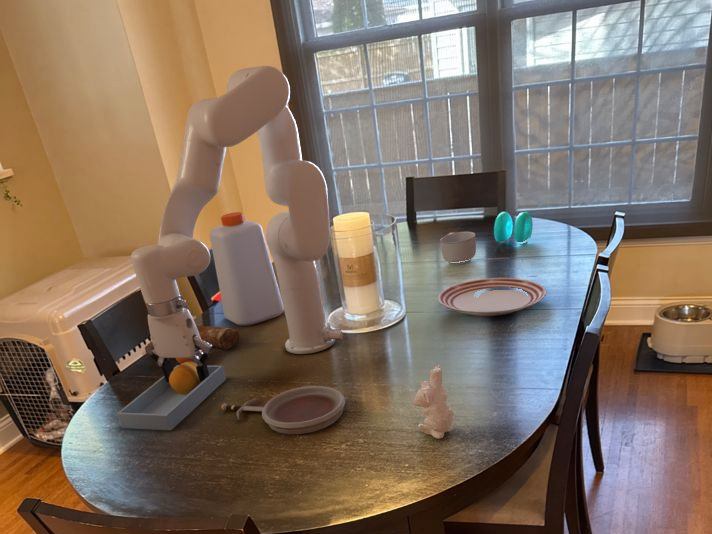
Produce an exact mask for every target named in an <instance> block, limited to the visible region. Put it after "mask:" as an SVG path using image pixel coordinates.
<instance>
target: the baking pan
mask: <svg viewBox="0 0 712 534" xmlns="http://www.w3.org/2000/svg"><path fill="white" fill-rule="evenodd" d="M179 365H180V364H177V365H175V366H173V369H175V368H177V367H178V366H179ZM207 368H208V371H209V376H208V377H207V378H206V379H205V380H204V381H203V382H201V383H200V384H199V385H198V386H197V387H196V388H195V389H193V390H192V391H191V392H190V393H189V394H188V395H181V394H177V393H176V391H175V390H174V389H173V388H172V387H171V385H170V382H166V380H165V377H164V375H163V376H162V377H160V378H159V379H158V380H157V381H156V382H154V383H153V384H152V385H151V386H149V387H148V388H146V390H144V391H143V392H142V393H140V394H139V395H138V396H136V397H135V398H134V399H133V400H132V401H130V402H129V403H128V404H127V405H125V406H124V407H123V408H122V409H120V410H119V411H118V412H117V413H116V416H117V418H118V421H119V424H120V427H121V429H132V430H150V431H151V430H152V431H153V430H154V431H157V430H158V431H172V430H174V429H175V428H176V427H177V426H178V425H179V424H180V423H181V422H182V421H184V420H185V418H187V417H188V415H190V414H191V413H192V412H193V411H194V410H195V409H196V408H197V407H198V406H199V405H201V404H202V403H203V402H204V401H205V400H206V399H207V398H208V397H209V396H210V395H211V394H212V393H213V392H214V391H215V390H217V388H219V387H220V386H221V385H222V384H223V383H224V382H225V381H227V378H226V374H225V370H224V366H223V365H207Z"/></svg>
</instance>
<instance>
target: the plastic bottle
mask: <svg viewBox="0 0 712 534" xmlns="http://www.w3.org/2000/svg"><path fill="white" fill-rule="evenodd" d="M220 221H221V225H218V226H215V227H212V228H211V229H210V230H209V239H210V244H211V251H212V256H213V260H214V261H213V263H214V267H215V272H216V278H217V282H218V284H217V285H218V288H219V294H220V299H221V305H222V311H223V316H224V318H225V319H226V320H228V321H230V322H232V323H233V324H235V325H237V326H240V327H249V326H254V325H256V324H259V323H262V322H265V321H268V320H272V319H274V318H277V317H279V316H281V315H282V314H284V307H283V302H282V297H281V292H280V287H279V283H278V280H277V277H276V274H275V269H274V267H273V263H272V262H273V261H272V258H271V254H270V251H269V247H268V244H267V240H266V236H265V234H264V230H263V227H262V225H261V224H260V223H258V222H255V221H251V220H245V216H244V213H243V212H241V211H235V212H229V213H226V214H223V215H222V216H221V217H220Z"/></svg>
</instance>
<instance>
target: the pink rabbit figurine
mask: <svg viewBox="0 0 712 534" xmlns="http://www.w3.org/2000/svg"><path fill="white" fill-rule="evenodd" d="M442 373H443V370H442V368H441V365H435V366H434V368H432V369H430V373H429V382H428V381H426V380H424V381H422V382H421V386H420V388H419V389H418V391H417V392H416V394H415V397H414V400H413V402H412V403H413V405H414V406H416V407H422V413H423V414H424V415H425V416H426V418H424V420H423V423H419V424H418V425H417V427H418V429H419V430H421V431H422V432H423V433H424V434H425V435H427V436H428V435H429V436H432V437H433V438H434V439H438V440H441V439H443V437H444V436H445V433H447V432H452V431H454V427H452V424H453V419H454V416H455V415H454V410H453V408H452V407H451V406H450V404H447V402H446V401H447V400H448V394H447V391H446V390H445V388H444V387H443V374H442Z"/></svg>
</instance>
